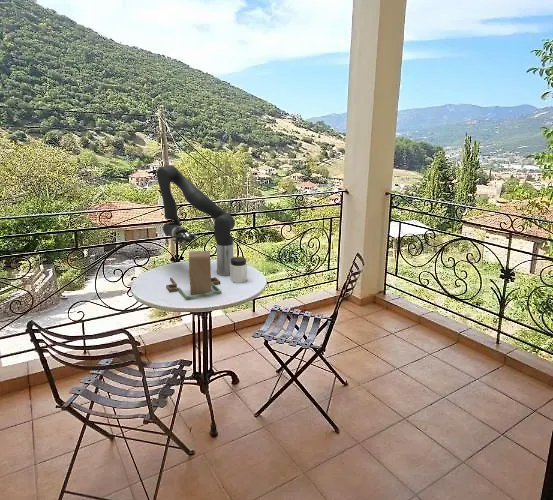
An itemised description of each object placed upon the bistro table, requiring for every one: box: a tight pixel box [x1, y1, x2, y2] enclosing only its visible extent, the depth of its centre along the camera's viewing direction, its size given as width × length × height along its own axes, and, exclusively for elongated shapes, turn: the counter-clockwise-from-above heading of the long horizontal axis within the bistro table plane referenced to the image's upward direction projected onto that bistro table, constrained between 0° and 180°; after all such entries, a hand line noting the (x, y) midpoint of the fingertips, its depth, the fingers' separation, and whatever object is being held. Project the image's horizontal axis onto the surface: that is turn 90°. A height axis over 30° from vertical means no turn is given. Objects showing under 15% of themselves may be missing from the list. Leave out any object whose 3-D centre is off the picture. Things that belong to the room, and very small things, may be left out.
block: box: [188, 250, 212, 296], centre depth 190 cm, size 10×10×20 cm
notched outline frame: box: [165, 276, 222, 301], centre depth 199 cm, size 26×30×2 cm
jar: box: [229, 256, 248, 284], centre depth 208 cm, size 9×8×12 cm
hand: (189, 240), depth 198 cm, fingers closed
